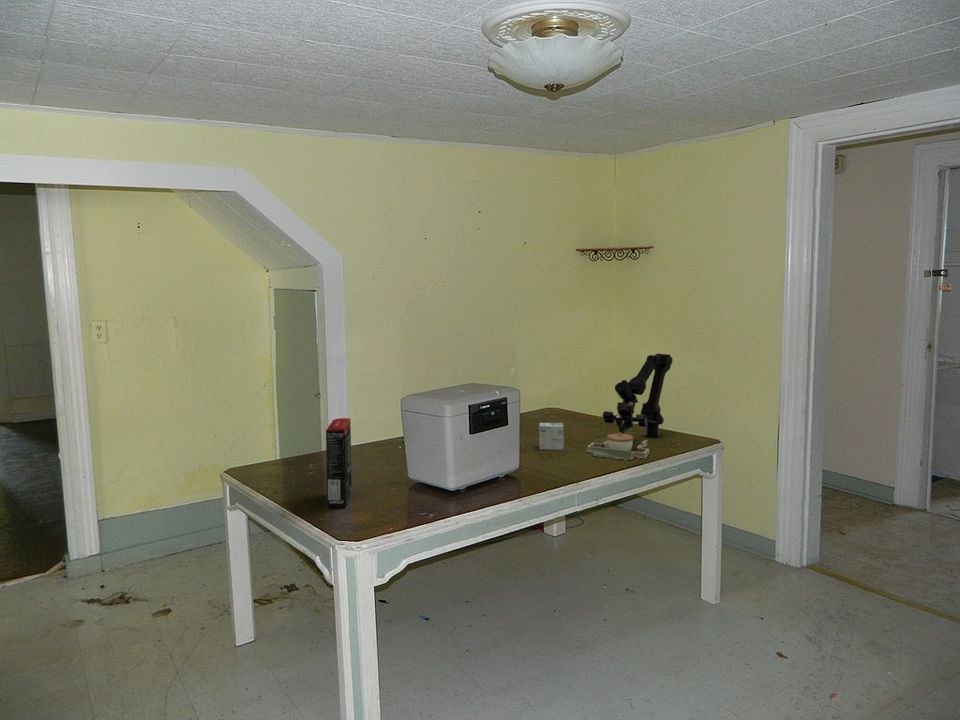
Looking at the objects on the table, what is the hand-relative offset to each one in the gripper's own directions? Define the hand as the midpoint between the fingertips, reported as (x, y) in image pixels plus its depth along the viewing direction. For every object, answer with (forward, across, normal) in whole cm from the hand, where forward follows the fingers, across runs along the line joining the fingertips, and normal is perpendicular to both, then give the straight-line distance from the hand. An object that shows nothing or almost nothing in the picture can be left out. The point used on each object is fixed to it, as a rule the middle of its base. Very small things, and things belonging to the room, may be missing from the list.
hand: (620, 435), depth 305 cm
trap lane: (+5, 0, +5) cm, 7 cm away
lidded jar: (+9, +1, +1) cm, 9 cm away
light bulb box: (+11, -29, 0) cm, 31 cm away
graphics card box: (+80, -69, -68) cm, 125 cm away
